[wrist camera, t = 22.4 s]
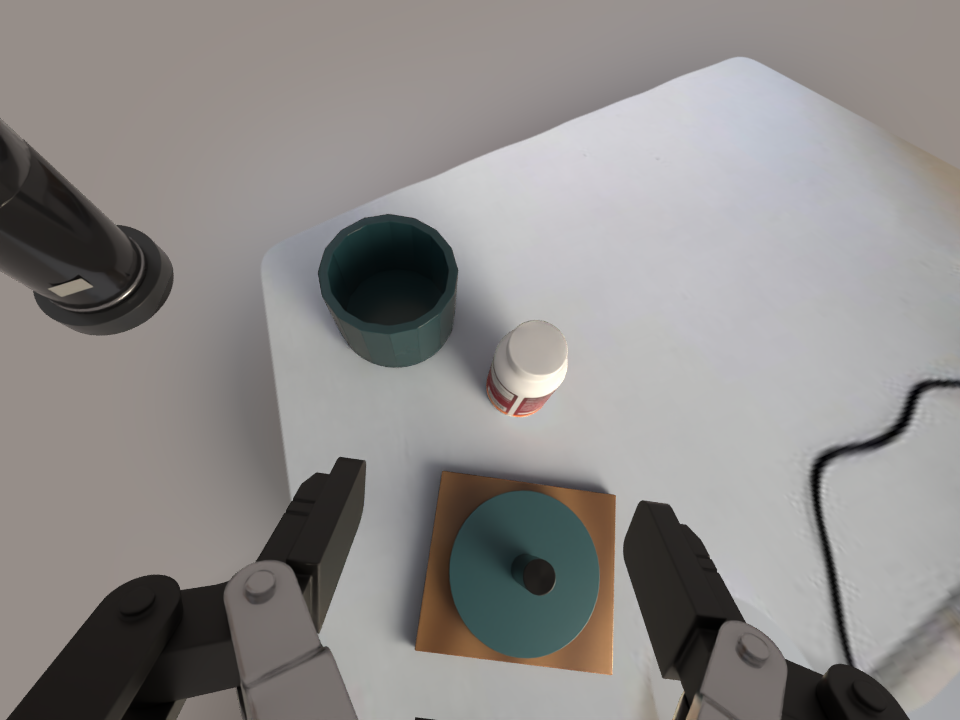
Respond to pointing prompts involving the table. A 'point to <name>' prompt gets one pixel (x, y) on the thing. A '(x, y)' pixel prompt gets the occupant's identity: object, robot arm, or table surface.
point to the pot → (390, 289)
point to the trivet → (438, 610)
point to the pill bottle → (527, 368)
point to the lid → (524, 574)
